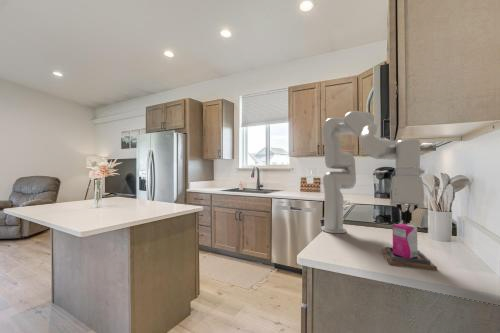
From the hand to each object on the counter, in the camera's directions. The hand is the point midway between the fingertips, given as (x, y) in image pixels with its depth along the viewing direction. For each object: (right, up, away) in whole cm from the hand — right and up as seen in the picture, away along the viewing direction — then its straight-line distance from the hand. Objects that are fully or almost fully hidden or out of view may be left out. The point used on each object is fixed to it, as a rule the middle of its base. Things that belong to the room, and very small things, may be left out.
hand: (406, 222), depth 88 cm
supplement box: (0, -13, 0) cm, 13 cm away
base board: (0, -14, 0) cm, 14 cm away
